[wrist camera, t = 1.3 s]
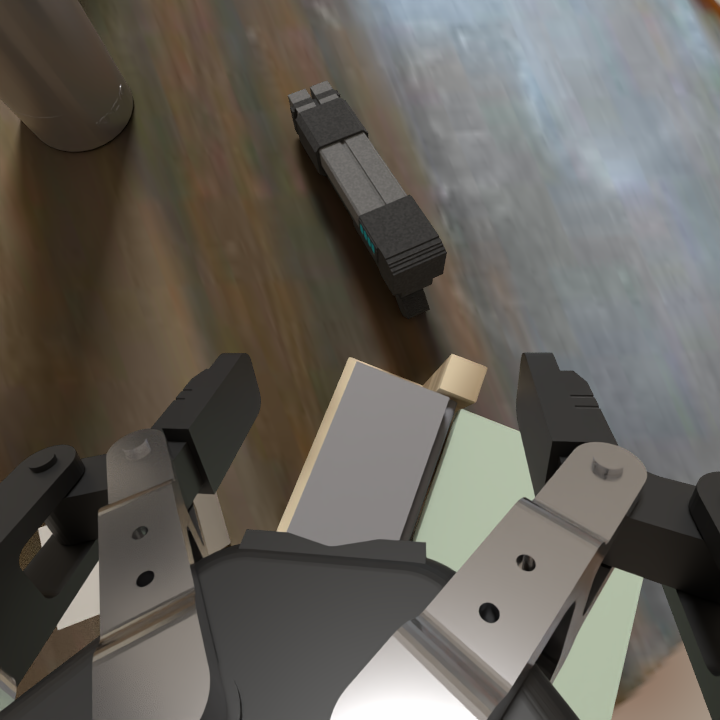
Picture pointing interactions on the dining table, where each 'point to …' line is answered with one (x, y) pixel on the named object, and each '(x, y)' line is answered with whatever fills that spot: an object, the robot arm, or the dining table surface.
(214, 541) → the grey rectangular block
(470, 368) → the frame
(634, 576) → the trapdoor
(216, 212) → the dining table surface
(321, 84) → the gun
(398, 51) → the dining table surface
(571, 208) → the dining table surface
